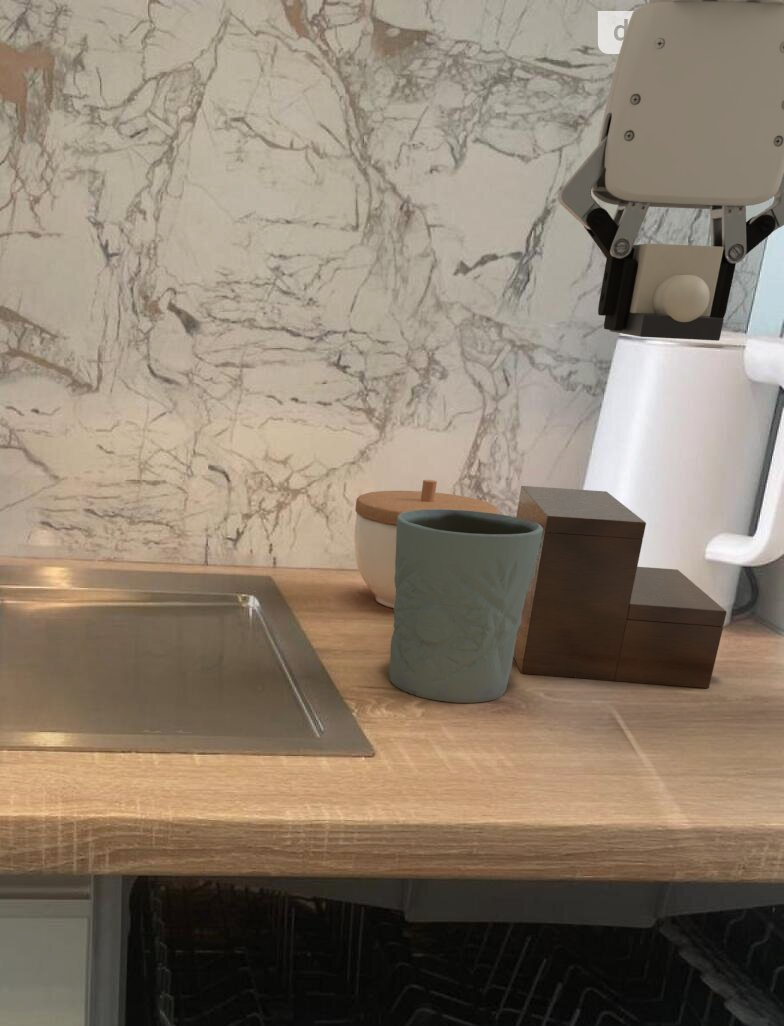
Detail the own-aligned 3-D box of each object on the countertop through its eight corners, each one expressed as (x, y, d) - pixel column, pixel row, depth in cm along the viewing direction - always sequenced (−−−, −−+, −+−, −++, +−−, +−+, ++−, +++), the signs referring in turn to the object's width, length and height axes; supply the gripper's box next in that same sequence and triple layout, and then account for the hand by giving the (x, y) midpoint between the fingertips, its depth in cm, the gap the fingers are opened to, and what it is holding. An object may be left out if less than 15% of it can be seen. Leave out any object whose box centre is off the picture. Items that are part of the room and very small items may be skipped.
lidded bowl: (508, 619, 106) (528, 493, 102) (376, 622, 103) (391, 492, 99) (448, 585, 117) (464, 470, 113) (327, 586, 114) (338, 468, 110)
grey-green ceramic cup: (406, 707, 83) (428, 534, 78) (359, 663, 92) (376, 505, 87) (540, 704, 85) (570, 535, 80) (481, 661, 94) (505, 507, 89)
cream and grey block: (609, 331, 77) (624, 245, 75) (681, 334, 76) (698, 249, 74) (643, 337, 69) (661, 241, 66) (723, 341, 68) (744, 245, 66)
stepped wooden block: (663, 638, 103) (693, 497, 98) (709, 688, 90) (746, 529, 85) (498, 625, 104) (521, 485, 99) (520, 673, 91) (547, 515, 87)
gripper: (852, -1, 69) (776, 336, 77) (556, -9, 70) (509, 323, 78) (911, -31, 62) (821, 341, 70) (582, -40, 64) (528, 327, 71)
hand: (657, 328), depth 74 cm, fingers closed on cream and grey block, 4 cm apart
